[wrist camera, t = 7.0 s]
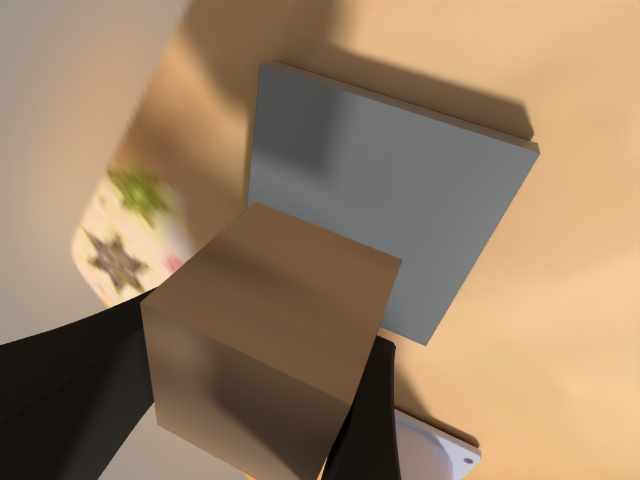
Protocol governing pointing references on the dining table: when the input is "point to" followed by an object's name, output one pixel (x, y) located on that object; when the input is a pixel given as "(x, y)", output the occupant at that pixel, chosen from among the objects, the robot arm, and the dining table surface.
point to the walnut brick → (266, 341)
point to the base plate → (386, 181)
